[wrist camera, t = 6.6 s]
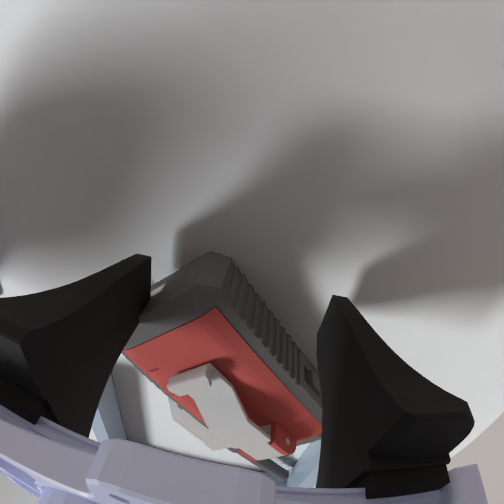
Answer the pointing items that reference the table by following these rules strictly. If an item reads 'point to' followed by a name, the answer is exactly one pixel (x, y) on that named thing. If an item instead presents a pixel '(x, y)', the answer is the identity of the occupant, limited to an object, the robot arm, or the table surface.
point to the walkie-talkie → (227, 364)
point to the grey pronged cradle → (300, 475)
